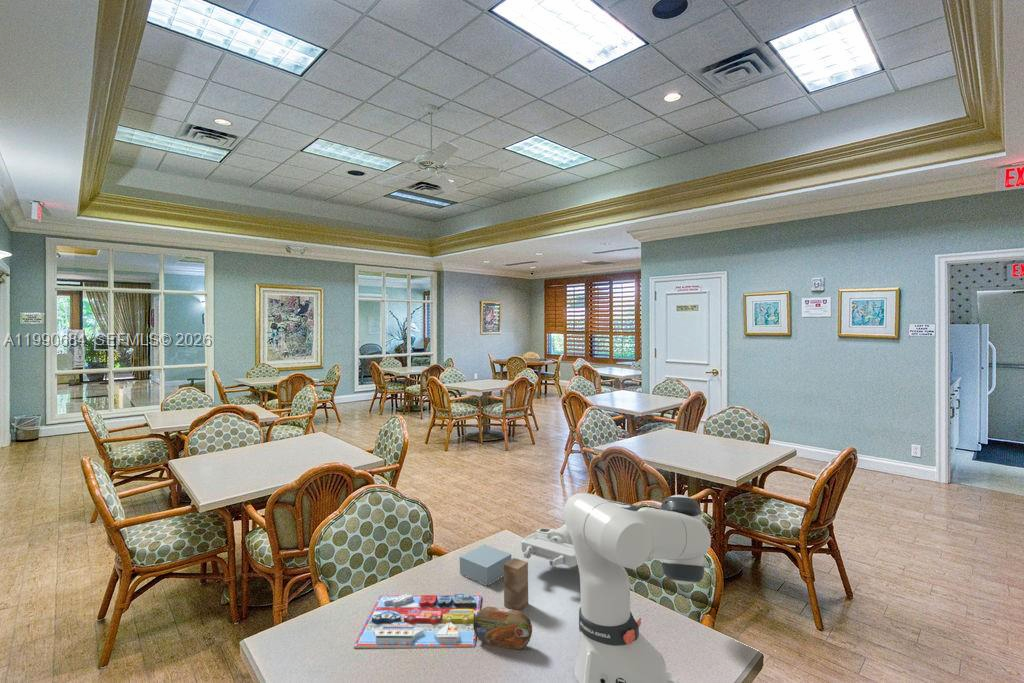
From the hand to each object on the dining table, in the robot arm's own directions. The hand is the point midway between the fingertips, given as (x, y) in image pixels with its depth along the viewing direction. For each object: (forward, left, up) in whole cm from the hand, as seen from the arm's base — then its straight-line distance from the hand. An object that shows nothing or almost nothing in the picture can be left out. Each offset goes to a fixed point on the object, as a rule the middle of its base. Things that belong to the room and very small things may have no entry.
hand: (538, 559), depth 146 cm
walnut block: (0, +12, -8) cm, 15 cm away
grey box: (+19, +2, -9) cm, 21 cm away
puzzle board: (+17, +33, -9) cm, 38 cm away
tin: (-7, +28, -9) cm, 30 cm away
